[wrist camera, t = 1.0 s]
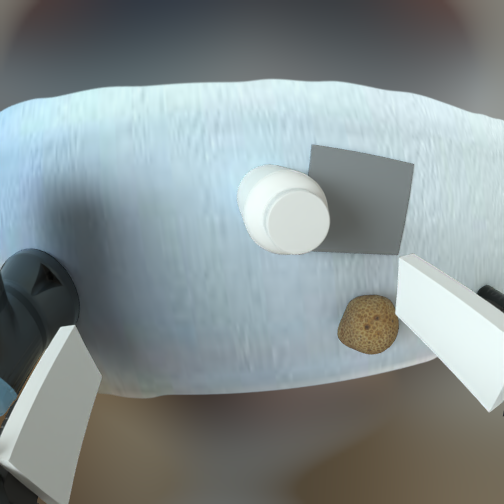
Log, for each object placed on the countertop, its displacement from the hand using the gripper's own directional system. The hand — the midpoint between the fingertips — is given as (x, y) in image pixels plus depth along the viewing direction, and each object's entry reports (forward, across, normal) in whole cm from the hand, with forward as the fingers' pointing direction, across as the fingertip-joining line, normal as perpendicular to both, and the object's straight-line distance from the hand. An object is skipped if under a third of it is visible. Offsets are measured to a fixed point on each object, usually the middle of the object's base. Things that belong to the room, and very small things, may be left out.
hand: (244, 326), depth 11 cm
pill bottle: (+28, +6, -1) cm, 29 cm away
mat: (+27, +19, -4) cm, 33 cm away
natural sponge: (+27, +18, -20) cm, 38 cm away
